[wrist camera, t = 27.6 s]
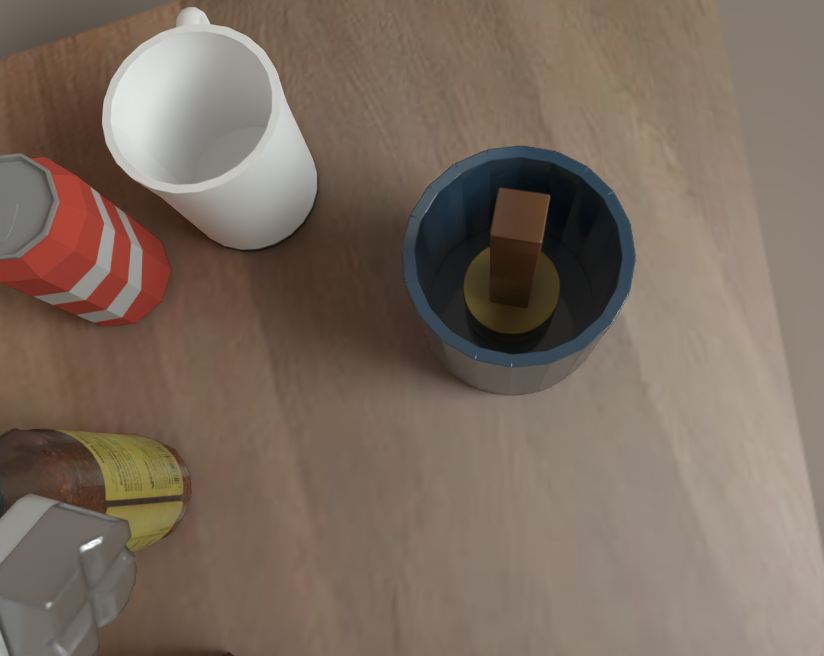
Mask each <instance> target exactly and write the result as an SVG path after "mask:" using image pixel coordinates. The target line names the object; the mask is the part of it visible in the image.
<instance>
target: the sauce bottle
mask: <svg viewBox="0 0 824 656" xmlns="http://www.w3.org/2000/svg"><path fill="white" fill-rule="evenodd" d="M29 493H30V494H34V495H38V496H42V497H46V498H50V499H53V500H57V501H61V502H64V503H67V504H71V505H75V506H78V507H82V508H86V509H89V510H93V511H96V512H100V513H104V514H107V515H111V516H114V517H118V518H122V519H125V520H128V521H129V526H130V530H131V534H132V536H131V538H130V539H129V541H128V542H127V544H126V546H127V547H128V549H129V550H130V551H131V552H133V551H138V550H142V549H144V548H146V547H148V546H150V545H152V544H154V543H155V542H157V541H158V540H160V539H162V538H164V537H166V536H168V535H169V534H170V533H172V532H173V531H174V529H175V528H176V527H177V525H178V524H179V522H180V521H181V520H182V518H183V515H184V513H185V511H186V509H187V506H188V502H189V500H190V495H191V479H190V476H189V472H188V470H187V469H186V466H185V464H184V462H183V460H182V459H181V457H180V455H179V454H178V453H177V452H176V451H175V450H174V449H173V448H171V447H169V446H167V445H165V444H163V443H161V442H159V441H156V440H154V439H151V438H148V437H144V436H139V435H133V434H114V433H99V432H85V431H73V430H58V429H31V430H19V429H12V430H10V431H8V432H7V433H5V434H3V435H1V436H0V518H1V517H2V516H3V515H4V514H5V513H6V512H7V511H8V510H9V508H10V507H11V506H12V505H13V504H14V503H15V502H16V501H17V500H19V499H20V498H22V497H24V496H26V495H28V494H29Z"/></svg>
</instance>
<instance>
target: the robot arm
mask: <svg viewBox="0 0 824 656" xmlns="http://www.w3.org/2000/svg"><path fill="white" fill-rule="evenodd" d="M131 536H132V534H131V530H130V526H129V521H128V520H125V519H122V518H118V517H114V516H111V515H107V514H104V513H100V512H96V511H93V510H89V509H86V508H82V507H78V506H75V505H71V504H67V503H64V502H61V501H57V500H53V499H50V498H46V497H42V496H38V495H34V494H30V493H29V494H28V495H26V496H24V497H22V498H20V499H19V500H17V501H16V502H15V503H14V504H13V505H12V506H11V507H10V508H9V510H8V511H7V512H6V513H5V514H4V515H3V516H2V517H1V518H0V656H94V655H95V653H96V652H97V650H98V648H99V647H100V646H99V632H98V630H100V629H102V628H104V627H105V626H107V625H109V624H111V623H112V622H114V621H116V620H117V619H118V617H119V616H120V614H121V613H122V611H123V609H124V608H125V606H126V604H127V603H128V601H129V598H130V595H131V593H132V590H133V587H134V585H135V581H136V572H137V565H136V558H135V555H134V554H133V553H132V552H131V551H130V550H129V549H128V547H127V546H126V544H127V542H128V541H129V539H130V538H131Z"/></svg>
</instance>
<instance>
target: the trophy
mask: <svg viewBox="0 0 824 656" xmlns="http://www.w3.org/2000/svg"><path fill="white" fill-rule="evenodd" d="M549 201H550V195H547V194H541V193H534V192H527V191H520V190H514V189H507V188H499V189H498V194H497V199H496V205H495V210H494V216H493V221H492V226H491V232H490V246H489V247H488V248H486V249H484V250H483V251H481V252H480V253H479V254H478V255H477V256H476V257H475V258H474V259H473V260H472V262H471V263H470V265H469V267H468V269H467V271H466V273H465V277H464V282H463V294H464V303H465V310H466V315H467V318H468V320H469V323H470V324H471V326H472V328H473V329H474V330H475V331H476V333H478V334H479V335H480V336H481V337H482V338H483V339H485V340H487V341H488V342H490V343H493V344H495V345H499V346H504V347H516V346H521V345H525V344H527V343H530V342H532V341H533V340H535V339H537V338H538V337H539V336H540V335H541V334H542V333H543V332H544V331H545V330H546V329H547V327H548V326H549V324H550V322H551V320H552V318H553V315H554V312H555V310H556V307H557V304H558V302H559V297H560V290H561V288H560V279H559V275H558V272H557V270H556V267H555V265H554V264H553V262H552V261H551V260H550V259H549V257H548V256H547V255H546V254H545V253H543V252H542V251H541V246H542V241H543V235H544V230H545V224H546V218H547V212H548V207H549Z"/></svg>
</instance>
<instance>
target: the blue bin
mask: <svg viewBox="0 0 824 656" xmlns="http://www.w3.org/2000/svg"><path fill="white" fill-rule="evenodd" d="M499 188H507V189H514V190H520V191H527V192H534V193H541V194H547V195H550V201H549V207H548V212H547V218H546V224H545V230H544V235H543V241H542V246H541V251H542V252H543V253H545V254H546V255H547V256H548V257H549V259H550V260H551V261H552V262H553V264H554V265H555V267H556V270H557V272H558V275H559V279H560V288H561V290H560V297H559V302H558V304H557V307H556V310H555V312H554V315H553V318H552V320H551V322H550V324H549V326H548V327H547V329H546V330H545V331H544V332H543V333H542V334H541V335H540V336H539V337H538V338H537V339H535V340H533V341H532V342H530V343H527V344H525V345H521V346H516V347H504V346H499V345H495V344H493V343H490V342H488V341H487V340H485V339H483V338H482V337H481V336H480V335H479V334H478V333H476V331H475V330H474V329H473V328H472V326H471V324H470V323H469V320H468V318H467V315H466V310H465V303H464V294H463V282H464V277H465V273H466V271H467V269H468V267H469V265H470V263H471V262H472V260H473V259H474V258H475V257H476V256H477V255H478V254H479V253H480V252H481V251H483V250H484V249H486V248H488V247H489V246H490V232H491V226H492V221H493V216H494V210H495V205H496V199H497V194H498V189H499ZM635 257H636V254H635V248H634V242H633V235H632V229H631V224H630V221H629V219H628V217H627V215H626V213H625V212H624V210H623V208H622V206H621V204H620V202H619V200H618V198H617V196H616V195H615V193H614V192H613V190H612V189H611V188H610V187H609V186H607V185H606V184H605V183H604V182H603V181H602V180H601V179H600V178H599V177H598V176H597V175H596V174H595V173H594V172H593V171H592V170H591V169H590V168H588V167H587V166H585V165H583V164H581V163H579V162H577V161H575V160H573V159H571V158H569V157H567V156H565V155H563V154H561V153H559V152H556V151H552V150H546V149H540V148H534V147H528V146H513V147H505V148H496V149H488V150H487V151H486V150H485V151H482V152H480V153H478V154H476V155H473V156H471V157H469V158H466V159H464V160H462V161H460V162H457V163H455V165H452V166H451V167H450V168H449V169H448V170H446V171H445V172H444V173H443V174H442V175H441V176H439V177H438V178H437V179H436V180H435V181H434V182H432V183H431V184H430V185H429V186H428V187H427V188H426V190H425V192H424V193H423V195H422V196H421V198H420V200H419V201H418V203H417V204H416V206H415V208H414V209H413V211H412V213H411V214H410V217H409V220H408V224H407V228H406V233H405V237H404V241H403V245H402V260H403V272H404V282H405V286H406V288H407V291H408V293H409V296H410V298H411V301H412V303H413V306H414V309H415V311H416V314H417V316H418V319H419V321H420V324H421V326H422V329H423V331H424V333H425V336H426V338H427V340H428V343H429V345H430V347H431V349H432V351H433V353H434V354H435V355H436V357H437V358H438V359H439V361H440V362H441V363H442V364H443V365H444V366H445V367H446V368H447V370H448V371H449V372H451V373H452V374H453V375H454V376H456V377H457V378H458V379H460V380H461V381H463V382H465V383H466V384H468V385H470V386H472V387H474V388H477V389H479V390H482V391H486V392H489V393H493V394H500V395H523V394H530V393H534V392H538V391H541V390H544V389H546V388H549V387H551V386H553V385H555V384H557V383H559V382H560V381H562V380H563V379H565V378H566V377H567V376H569V375H570V374H571V373H572V372H573V371H574V370H575V369H577V368H578V367H579V366H580V365H581V364H582V363H583V362H584V361H585V360H586V358H587V357H588V356H589V354H590V353H591V352H592V350H593V349H594V348H595V346H596V345H597V344H598V342H599V341H600V340H601V338H602V337H603V336H604V334H605V333H606V332H607V330H608V329H609V327H610V326H611V325H612V323H613V322H614V320H615V318H616V316H617V315H618V313H619V311H620V309H621V308H622V306H623V304H624V302H625V300H626V299H627V297H628V295H629V292H630V289H631V283H632V278H633V272H634V267H635V261H636V258H635Z"/></svg>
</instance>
